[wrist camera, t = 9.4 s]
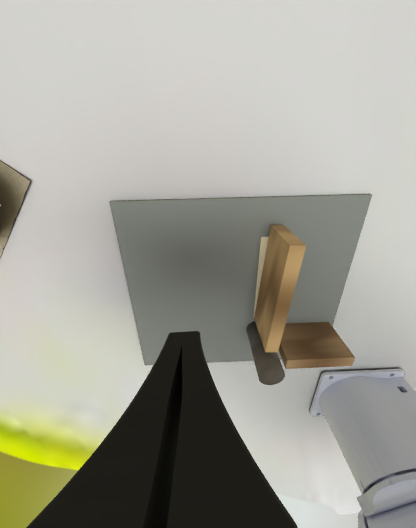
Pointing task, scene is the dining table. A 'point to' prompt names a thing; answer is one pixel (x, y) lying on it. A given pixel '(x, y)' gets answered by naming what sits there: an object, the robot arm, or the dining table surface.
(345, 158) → the dining table surface
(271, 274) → the fence panel
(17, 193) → the condiment
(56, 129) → the dining table surface
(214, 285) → the card
